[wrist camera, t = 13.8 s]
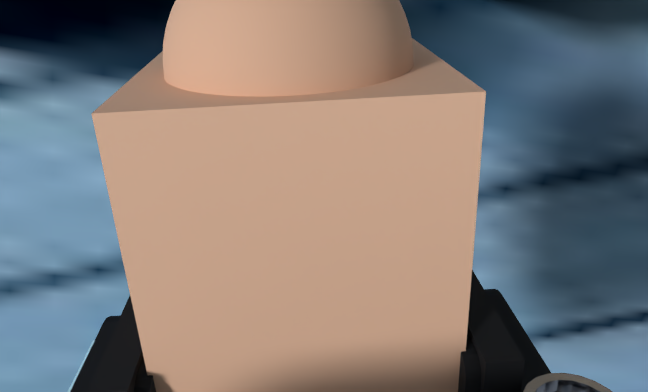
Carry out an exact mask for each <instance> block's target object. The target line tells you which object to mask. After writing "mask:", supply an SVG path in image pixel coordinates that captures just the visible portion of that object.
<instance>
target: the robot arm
mask: <svg viewBox="0 0 648 392" xmlns="http://www.w3.org/2000/svg"><path fill="white" fill-rule="evenodd" d="M70 392H156V388H155V384H154V379H153V375H147V371H146V366H145V361H144V357H143V352H142V347H141V343H140V338H139V333H138V329H137V324H136V319H135V315H134V310H133V305H132V301H131V296H129V299H128V301H127V303H126V305H125V308H124V310H123V312H122V314H121V316H110V317H108V318H106V320H105V321H104V323H103V325H102V327H101V329H100V331H99V333H98V335H97V337H96V339H95V341H94V343H93V345H92V347H91V349H90V352H89V354H88V356H87V358H86V360H85V362H84V364H83V366H82V368H81V370H80V372H79V374H78V376H77V378H76V381H75V383H74V385H73V387H72V389H71V391H70ZM458 392H612V391H611V390H610V389H608V388H606V387H604V386H603V385H601V384H599V383H597V382H596V381H593V380H590V379H588V378H585V377H582V376H579V375H573V374H567V373H551V372H550V370H549V369H548V367H547V366H546V364H545V362H544V361H543V359H542V358H541V356H540V355H539V353H538V351H537V350H536V348H535V347H534V345H533V343H532V342H531V340H530V339H529V337H528V335H527V334H526V332H525V331H524V329H523V328H522V326H521V324H520V323H519V321H518V320H517V318H516V316H515V315H514V313H513V312H512V310H511V309H510V307H509V305H508V304H507V302H506V301H505V299H504V297H503V296H502V294H501V293H500V292H499V291H498V290H496V289H486V290H484V289H483V287H482V286H481V284H480V282H479V280H478V279H477V277H476V275H475V274H474V272H473V270H472V277H471V290H470V303H469V316H468V328H467V341H466V351H462V352H461V356H460V370H459V383H458Z"/></svg>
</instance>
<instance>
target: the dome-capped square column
mask: <svg viewBox="0 0 648 392" xmlns="http://www.w3.org/2000/svg"><path fill="white" fill-rule="evenodd" d="M485 97H486V91H484V90H483V89H482V88H480V87H479V86H478V85H476V84H475V83H473V82H472V81H471V80H469V79H468V78H466V77H465V76H464V75H462V74H461V73H460V72H458V71H457V70H455V69H454V68H453V67H451V66H450V65H448V64H447V63H446V62H444V61H443V60H442V59H440V58H439V57H437V56H436V55H435V54H433V53H432V52H431V51H429V50H428V49H426V48H425V47H424V46H422V45H421V44H419V43H418V42H417V41H415V40H414V39H411V33H410V28H409V25H408V22H407V18H406V15H405V13H404V10H403V8H402V6H401V4H400V2H399V0H176V1H175V3H174V5H173V7H172V10H171V13H170V16H169V19H168V22H167V25H166V30H165V36H164V41H163V51H162V52H161V53H160V54H159V55H158V56H157V57H156V58H154V59H153V60H152V61H151V62H150V63H149V64H148V65H146V66H145V67H144V68H143V69H142V70H141V71H140V72H138V73H137V74H136V75H135V76H134V77H133V78H132V79H130V80H129V81H128V82H127V83H126V84H125V85H124V86H122V87H121V88H120V89H119V90H118V91H117V92H116V93H114V94H113V95H112V96H111V97H110V98H109V99H108V100H106V101H105V102H104V103H103V104H102V105H101V106H100V107H98V108H97V109H96V110H95V111H94V112H93V113H92V118H93V123H94V128H95V132H96V137H97V142H98V146H99V151H100V156H101V160H102V165H103V170H104V174H105V179H106V184H107V188H108V193H109V198H110V202H111V207H112V212H113V216H114V221H115V226H116V231H117V235H118V240H119V245H120V249H121V254H122V259H123V263H124V268H125V273H126V277H127V282H128V287H129V291H130V296H131V301H132V305H133V310H134V315H135V319H136V324H137V329H138V333H139V338H140V343H141V347H142V352H143V357H144V361H145V366H146V371H147V375H153V379H154V384H155V388H156V392H458V383H459V370H460V356H461V352H462V351H466V341H467V328H468V316H469V303H470V290H471V277H472V264H473V251H474V238H475V226H476V213H477V200H478V187H479V174H480V161H481V148H482V136H483V123H484V110H485Z"/></svg>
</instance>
